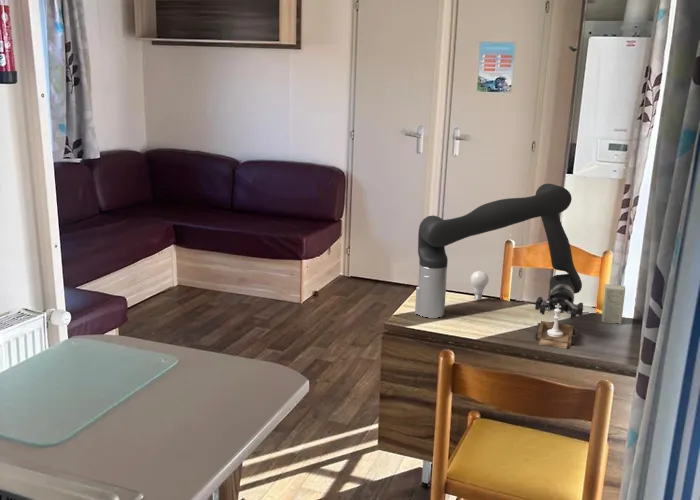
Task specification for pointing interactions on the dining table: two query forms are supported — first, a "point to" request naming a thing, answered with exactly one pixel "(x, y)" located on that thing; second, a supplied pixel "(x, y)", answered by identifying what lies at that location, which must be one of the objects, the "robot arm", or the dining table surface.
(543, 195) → the robot arm
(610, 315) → the skincare box
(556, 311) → the chess piece
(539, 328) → the truck bed
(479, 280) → the lightbulb
